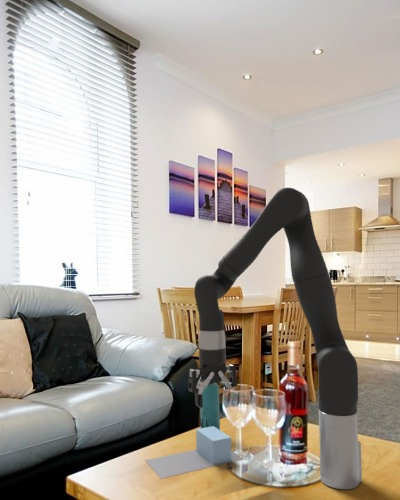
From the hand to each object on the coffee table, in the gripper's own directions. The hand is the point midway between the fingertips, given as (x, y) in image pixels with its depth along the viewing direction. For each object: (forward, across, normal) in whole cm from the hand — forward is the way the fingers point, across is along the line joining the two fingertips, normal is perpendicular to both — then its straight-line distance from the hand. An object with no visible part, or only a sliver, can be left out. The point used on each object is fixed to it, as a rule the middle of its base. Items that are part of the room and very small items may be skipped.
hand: (213, 404), depth 122 cm
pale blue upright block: (+14, 0, 0) cm, 14 cm away
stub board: (+15, -6, 0) cm, 16 cm away
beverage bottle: (+15, +8, +17) cm, 24 cm away
